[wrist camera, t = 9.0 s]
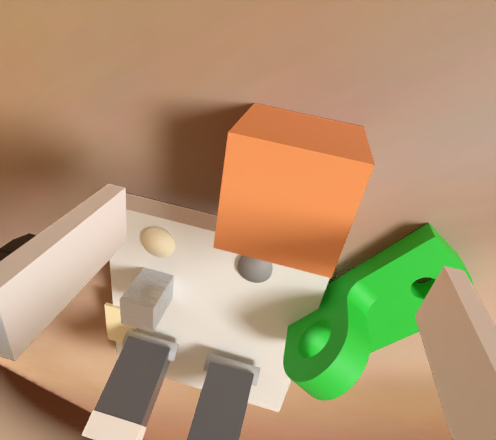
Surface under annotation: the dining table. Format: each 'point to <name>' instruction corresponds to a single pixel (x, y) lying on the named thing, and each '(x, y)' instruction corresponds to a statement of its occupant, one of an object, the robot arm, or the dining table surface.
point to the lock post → (146, 299)
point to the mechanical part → (365, 313)
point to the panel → (211, 297)
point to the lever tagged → (131, 388)
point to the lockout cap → (291, 188)
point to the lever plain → (223, 399)
